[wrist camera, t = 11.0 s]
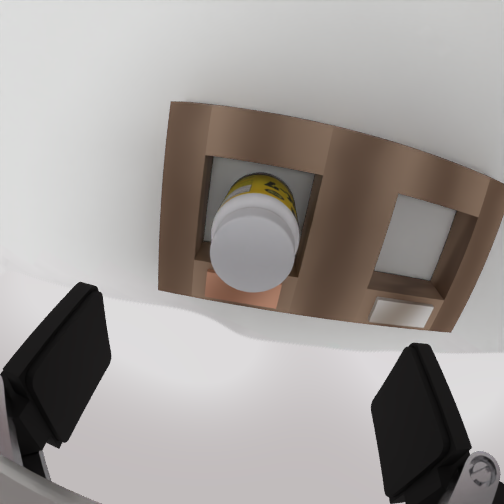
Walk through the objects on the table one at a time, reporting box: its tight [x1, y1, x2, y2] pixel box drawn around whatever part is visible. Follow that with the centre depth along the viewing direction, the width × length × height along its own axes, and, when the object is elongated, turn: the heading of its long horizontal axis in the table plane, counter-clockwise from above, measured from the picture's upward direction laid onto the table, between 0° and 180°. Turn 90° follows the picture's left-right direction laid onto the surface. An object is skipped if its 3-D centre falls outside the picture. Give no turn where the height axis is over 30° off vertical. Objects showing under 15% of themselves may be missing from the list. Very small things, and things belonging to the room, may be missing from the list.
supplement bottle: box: [210, 173, 300, 292], centre depth 19 cm, size 5×5×8 cm
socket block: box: [158, 102, 504, 332], centre depth 21 cm, size 24×13×3 cm, turn 81°
